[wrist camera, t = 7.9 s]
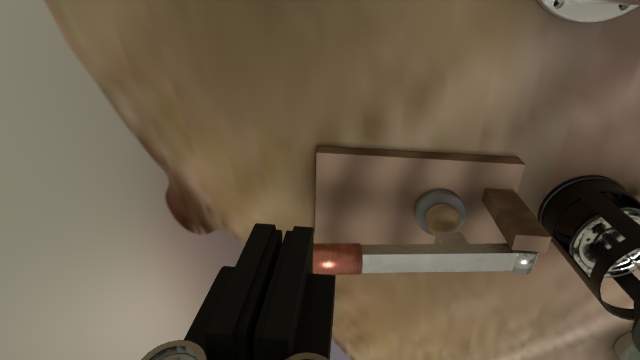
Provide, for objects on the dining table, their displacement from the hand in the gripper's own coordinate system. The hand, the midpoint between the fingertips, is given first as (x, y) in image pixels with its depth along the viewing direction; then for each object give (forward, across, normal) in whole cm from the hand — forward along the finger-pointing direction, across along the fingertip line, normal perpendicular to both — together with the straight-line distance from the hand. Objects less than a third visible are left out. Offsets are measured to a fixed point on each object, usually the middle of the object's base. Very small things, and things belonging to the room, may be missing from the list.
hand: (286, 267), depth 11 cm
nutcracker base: (+31, -9, +14) cm, 35 cm away
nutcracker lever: (+22, -8, +14) cm, 28 cm away
